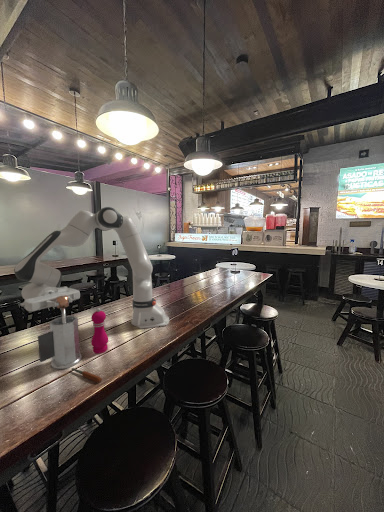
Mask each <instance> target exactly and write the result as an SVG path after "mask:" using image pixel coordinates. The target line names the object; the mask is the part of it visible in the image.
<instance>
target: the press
mask: <svg viewBox="0 0 384 512" xmlns="http://www.w3.org/2000/svg"><path fill="white" fill-rule="evenodd" d="M65 318H66V324H62V316H60V317H56V318H54V319H52V320H51V321H50V322H49V331H48V332H47V333H43V334H41V335H38V336H37V343H38V355H39V362H40V363H43V362H45V361H47V360H49V359H52V360H51V362H50V365H51V367H50V368H51V369H52V370H58V371H59V370H66V369H70V368H72V367H74V366H77V364H79V363H80V362H81V360H82V354H81V353H80V352H81V350H80V334H79V319H78V317H76V316H75V315H65Z"/></svg>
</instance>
